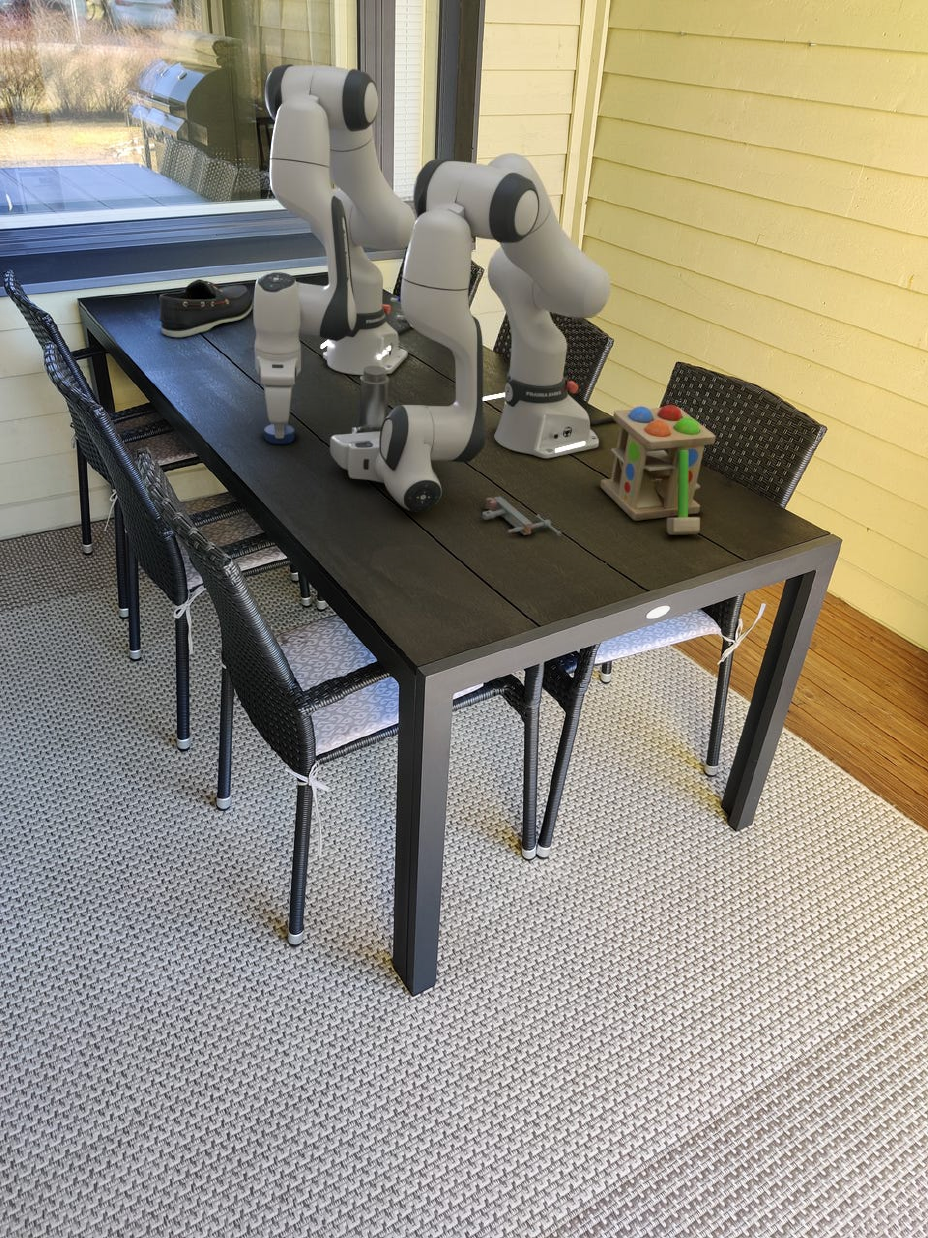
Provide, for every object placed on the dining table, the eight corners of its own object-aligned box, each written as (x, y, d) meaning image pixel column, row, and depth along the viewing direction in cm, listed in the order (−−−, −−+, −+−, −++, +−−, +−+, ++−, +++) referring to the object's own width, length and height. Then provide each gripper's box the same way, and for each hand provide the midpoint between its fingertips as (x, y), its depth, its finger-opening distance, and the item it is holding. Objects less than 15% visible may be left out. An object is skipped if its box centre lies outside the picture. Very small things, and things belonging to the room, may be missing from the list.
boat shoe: (271, 314, 265) (269, 274, 259) (179, 339, 241) (175, 296, 235) (235, 305, 270) (233, 266, 265) (143, 329, 246) (138, 287, 241)
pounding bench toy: (723, 535, 180) (747, 445, 170) (656, 543, 176) (676, 451, 166) (661, 480, 198) (680, 395, 188) (598, 486, 193) (614, 400, 183)
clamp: (472, 500, 179) (518, 491, 183) (471, 511, 180) (516, 501, 185) (516, 538, 168) (563, 528, 173) (514, 550, 170) (562, 539, 174)
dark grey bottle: (385, 461, 195) (388, 376, 185) (357, 459, 194) (359, 373, 184) (386, 450, 199) (390, 365, 189) (359, 448, 199) (361, 363, 189)
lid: (277, 429, 203) (277, 420, 202) (300, 437, 201) (300, 428, 200) (258, 438, 199) (257, 429, 198) (281, 446, 196) (281, 438, 195)
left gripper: (262, 342, 199) (265, 406, 207) (260, 379, 183) (262, 448, 190) (294, 343, 200) (295, 407, 208) (294, 380, 184) (295, 448, 191)
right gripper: (446, 438, 186) (421, 410, 197) (342, 448, 179) (322, 418, 189) (444, 468, 190) (419, 439, 200) (342, 479, 182) (322, 448, 193)
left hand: (279, 427), depth 199 cm, fingers open, 8 cm apart
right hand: (371, 429), depth 195 cm, fingers closed on dark grey bottle, 5 cm apart
